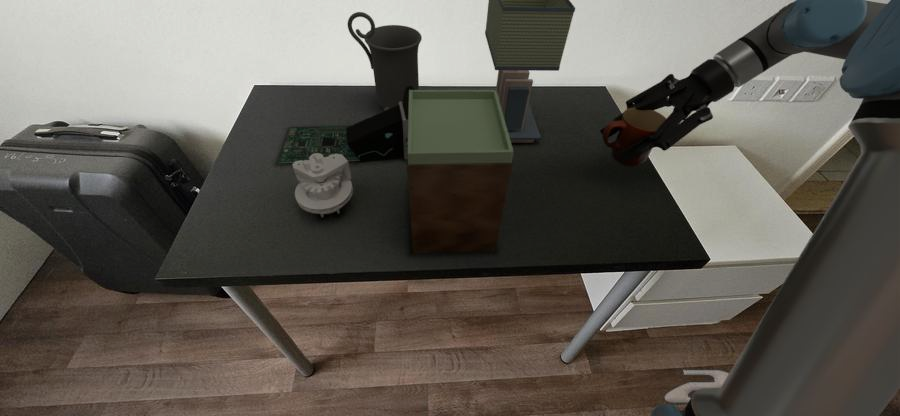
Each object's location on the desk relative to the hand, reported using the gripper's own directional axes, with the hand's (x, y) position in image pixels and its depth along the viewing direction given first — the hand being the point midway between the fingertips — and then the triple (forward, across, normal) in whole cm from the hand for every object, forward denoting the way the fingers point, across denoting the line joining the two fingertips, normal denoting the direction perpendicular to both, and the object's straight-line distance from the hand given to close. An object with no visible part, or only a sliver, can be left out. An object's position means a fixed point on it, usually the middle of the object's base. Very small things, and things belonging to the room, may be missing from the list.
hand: (610, 146), depth 78 cm
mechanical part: (+49, -3, +36) cm, 61 cm away
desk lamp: (+18, +22, +5) cm, 29 cm away
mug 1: (+39, +33, +26) cm, 57 cm away
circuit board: (+51, +18, +38) cm, 66 cm away
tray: (+16, -9, +34) cm, 38 cm away
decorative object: (+40, +14, +27) cm, 51 cm away
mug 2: (0, 0, -5) cm, 5 cm away
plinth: (+32, -9, +18) cm, 37 cm away
